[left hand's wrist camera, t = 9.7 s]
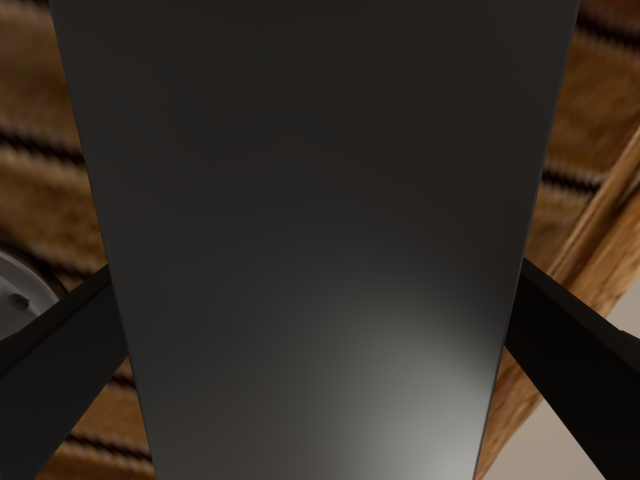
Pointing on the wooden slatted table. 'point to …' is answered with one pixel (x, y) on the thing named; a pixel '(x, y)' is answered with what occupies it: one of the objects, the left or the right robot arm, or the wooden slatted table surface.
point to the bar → (314, 219)
